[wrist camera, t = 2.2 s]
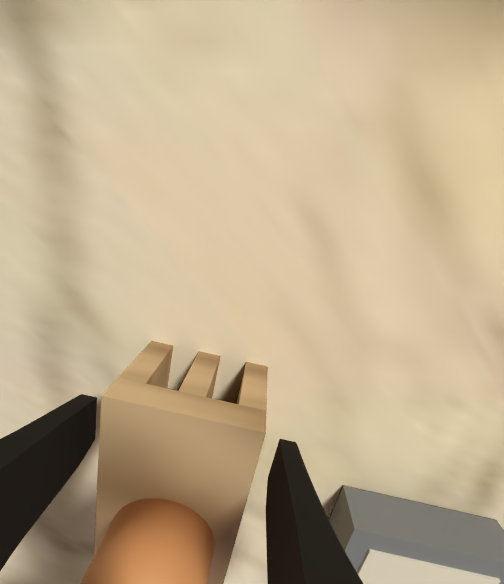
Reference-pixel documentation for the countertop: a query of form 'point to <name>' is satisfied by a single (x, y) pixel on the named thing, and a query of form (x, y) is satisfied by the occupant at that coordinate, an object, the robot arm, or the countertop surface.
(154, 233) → the countertop surface
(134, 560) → the brown egg
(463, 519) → the dock
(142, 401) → the pallet
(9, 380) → the countertop surface
